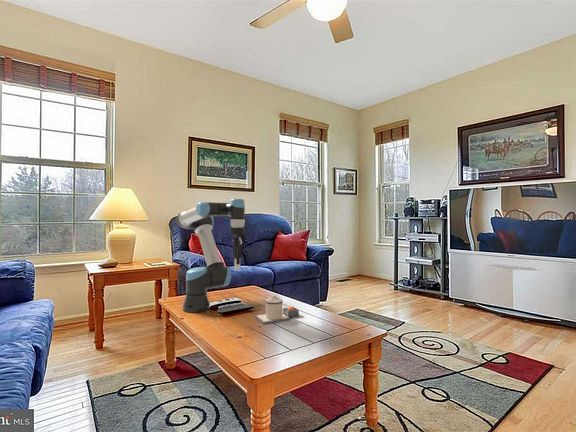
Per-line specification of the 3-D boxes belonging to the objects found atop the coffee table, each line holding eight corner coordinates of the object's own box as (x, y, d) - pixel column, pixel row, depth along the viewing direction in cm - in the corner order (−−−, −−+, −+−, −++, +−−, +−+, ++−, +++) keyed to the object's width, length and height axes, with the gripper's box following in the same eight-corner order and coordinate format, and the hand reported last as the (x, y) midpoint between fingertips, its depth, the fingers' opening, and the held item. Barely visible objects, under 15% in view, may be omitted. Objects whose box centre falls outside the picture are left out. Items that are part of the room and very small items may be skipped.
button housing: (282, 314, 176) (282, 308, 176) (293, 313, 179) (293, 306, 179) (288, 318, 170) (288, 311, 170) (298, 316, 173) (298, 309, 173)
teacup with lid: (286, 317, 168) (286, 295, 168) (272, 321, 162) (272, 298, 162) (271, 312, 177) (271, 291, 177) (258, 315, 171) (258, 294, 171)
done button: (286, 312, 175) (286, 306, 175) (292, 311, 177) (292, 306, 177) (289, 314, 172) (289, 308, 172) (295, 313, 174) (295, 307, 174)
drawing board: (254, 316, 172) (254, 315, 172) (280, 312, 179) (280, 311, 179) (263, 324, 160) (263, 322, 160) (290, 319, 167) (290, 318, 167)
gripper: (248, 227, 172) (247, 271, 172) (240, 226, 184) (240, 267, 184) (234, 227, 169) (234, 272, 169) (227, 226, 180) (227, 268, 181)
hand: (237, 269), depth 176 cm, fingers closed
